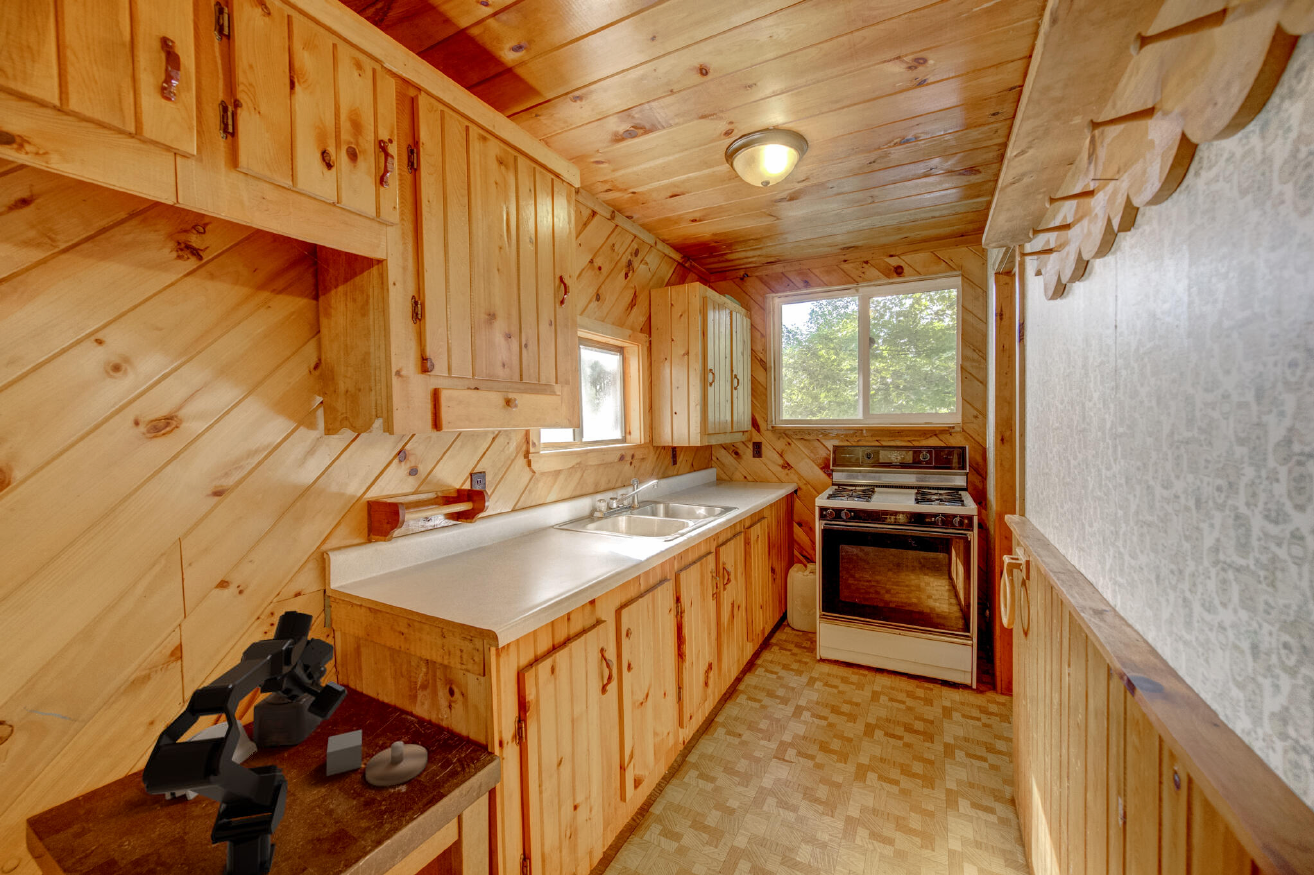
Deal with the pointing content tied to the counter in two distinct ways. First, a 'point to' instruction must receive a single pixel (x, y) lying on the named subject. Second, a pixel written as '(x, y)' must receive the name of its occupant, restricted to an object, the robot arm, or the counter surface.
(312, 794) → the counter surface
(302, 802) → the counter surface
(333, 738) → the grey block
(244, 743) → the grey napkin holder
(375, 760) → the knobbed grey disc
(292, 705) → the dark grey coffee grinder
